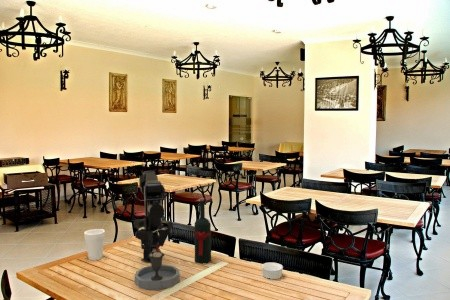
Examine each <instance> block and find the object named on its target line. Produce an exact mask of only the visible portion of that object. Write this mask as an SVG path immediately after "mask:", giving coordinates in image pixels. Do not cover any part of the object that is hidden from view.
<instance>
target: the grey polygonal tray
mask: <svg viewBox="0 0 450 300" xmlns="http://www.w3.org/2000/svg"><path fill="white" fill-rule="evenodd" d="M158 275H159V276H162V277H163V279H161V280H157V281H153V280H151V277H153V276H155V270H153V269H152V266H151V265H148V266H144V267H141V268H140V269H138V270H136V271H135V273H134V284H135V285H136V286H137V287H138V288H139V289H143V290H148V291H152V290H153V291H157V290H165V289H168V288H172V287H174V286H175V285H177V284H178V283H179V282H180V276H181V275H180V269H179V268H178V267H176V266H175V265H170V264H163V263H162V266H161V268H160V269H159V270H158Z"/></svg>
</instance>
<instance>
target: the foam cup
mask: <svg viewBox="0 0 450 300" xmlns="http://www.w3.org/2000/svg"><path fill="white" fill-rule="evenodd" d="M83 233H84V234H83V235H84V241H85V246H86V251H87V252H86V253H87V256H88V257H87V258H88V260H89V261H99V260H101V259H103V255H104V254H103V252H104V245H105V244H104V242H105V236H106V231H105V229H102V228H93V229H92V228H91V229H88V230H85V231H84V232H83Z"/></svg>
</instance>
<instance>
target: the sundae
mask: <svg viewBox="0 0 450 300" xmlns="http://www.w3.org/2000/svg"><path fill="white" fill-rule="evenodd" d="M158 246H159V244H158ZM158 246H157V247H156V248H153V250H152V253H150V254H148V257H149V258H150V261H151V262H150V266H152V269H153V270H155V276H153V277H151V280H153V281H157V280H161V279H163V277H162V276H159V275H158V270H159V269H160V268H161V266H162V265H163V258H164V256H165V253H164V252H162V251H161V249H160V247H158Z"/></svg>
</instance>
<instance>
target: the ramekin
mask: <svg viewBox="0 0 450 300" xmlns="http://www.w3.org/2000/svg"><path fill="white" fill-rule="evenodd" d="M261 269H262V277H263V278H265V277H266V278H265V279H267V278H270V279H269V280H272V279H274V280H278V279H277V278H279V279H281V278H282V275H283V269H284V266H283V265H282V264H281V263H277V262H265V263H263V264H262V265H261ZM280 277H281V278H280Z"/></svg>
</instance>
